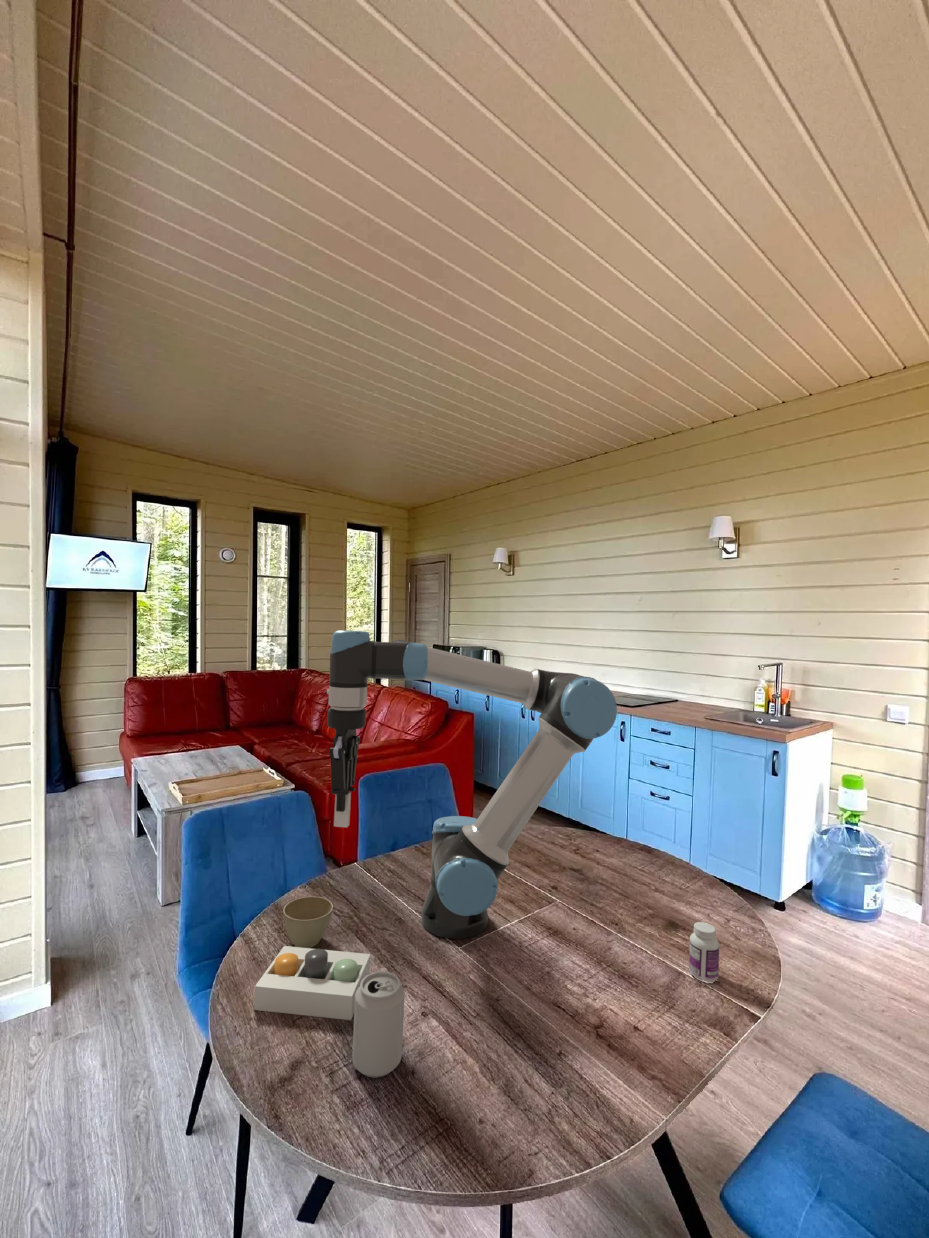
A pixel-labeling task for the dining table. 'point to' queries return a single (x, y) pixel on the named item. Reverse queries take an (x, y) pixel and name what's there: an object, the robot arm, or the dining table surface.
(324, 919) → the flower pot
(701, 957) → the pill bottle
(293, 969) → the orange rounded piece
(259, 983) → the white compartment box
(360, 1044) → the can
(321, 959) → the black button
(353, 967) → the green button
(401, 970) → the dining table surface
